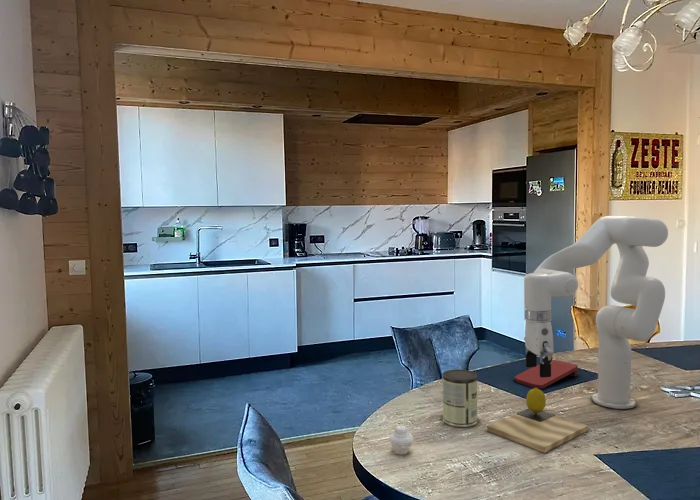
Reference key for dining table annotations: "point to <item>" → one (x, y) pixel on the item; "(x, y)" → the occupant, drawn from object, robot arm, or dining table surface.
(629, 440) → the dining table surface
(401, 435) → the white rounded piece
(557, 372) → the red sloped ramp
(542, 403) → the lemon
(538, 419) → the board
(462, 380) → the coffee can
